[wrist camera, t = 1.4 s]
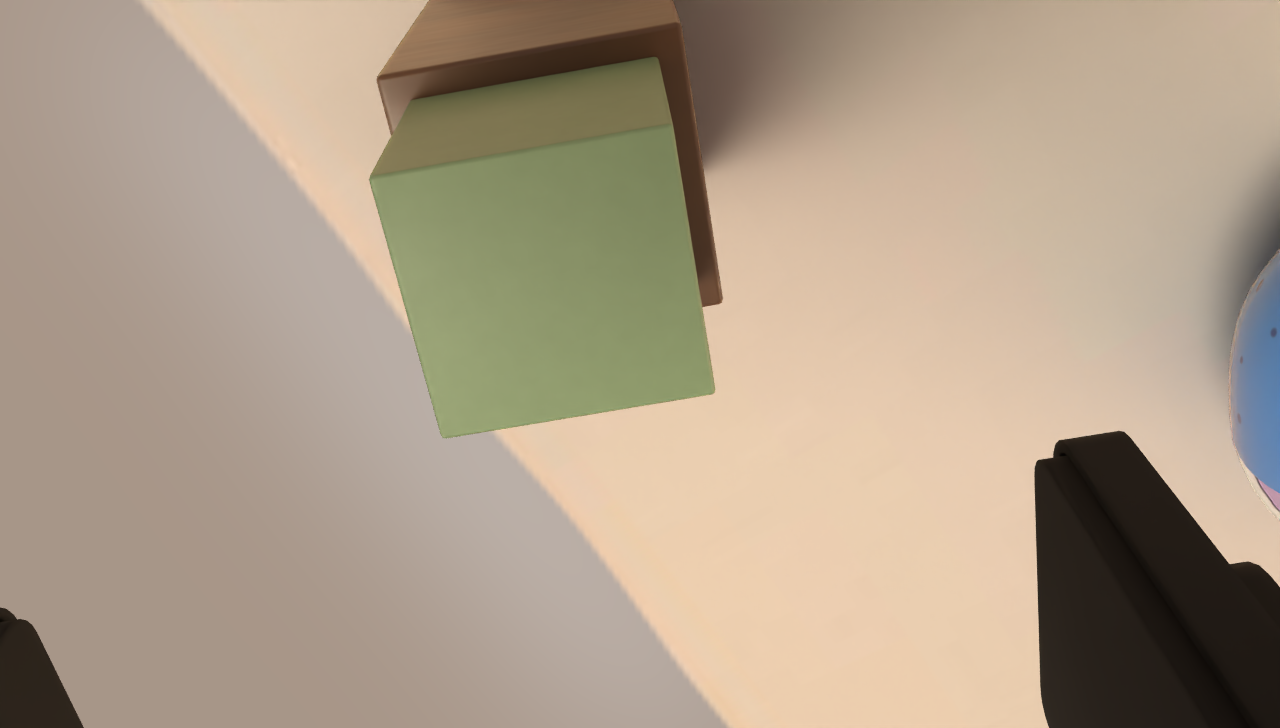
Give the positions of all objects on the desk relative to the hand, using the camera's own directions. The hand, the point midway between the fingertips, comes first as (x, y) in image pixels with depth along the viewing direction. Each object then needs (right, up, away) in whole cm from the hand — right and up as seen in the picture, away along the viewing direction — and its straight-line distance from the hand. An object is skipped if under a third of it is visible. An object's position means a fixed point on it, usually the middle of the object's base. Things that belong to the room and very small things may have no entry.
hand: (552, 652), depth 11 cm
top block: (-1, +6, +11) cm, 13 cm away
